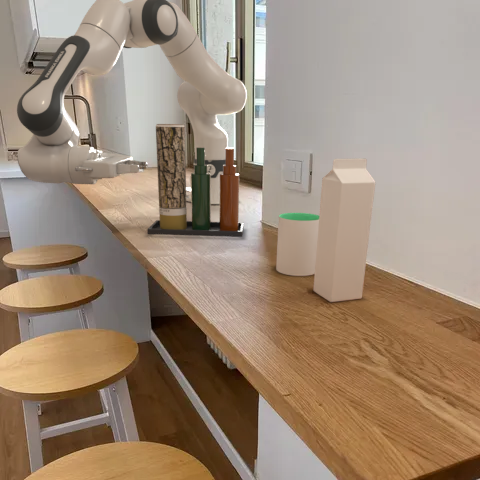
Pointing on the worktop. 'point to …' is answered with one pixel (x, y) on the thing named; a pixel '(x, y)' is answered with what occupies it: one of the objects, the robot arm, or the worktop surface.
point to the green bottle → (201, 193)
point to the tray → (188, 231)
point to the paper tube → (171, 175)
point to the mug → (297, 243)
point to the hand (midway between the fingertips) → (143, 167)
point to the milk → (343, 230)
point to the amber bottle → (229, 195)
